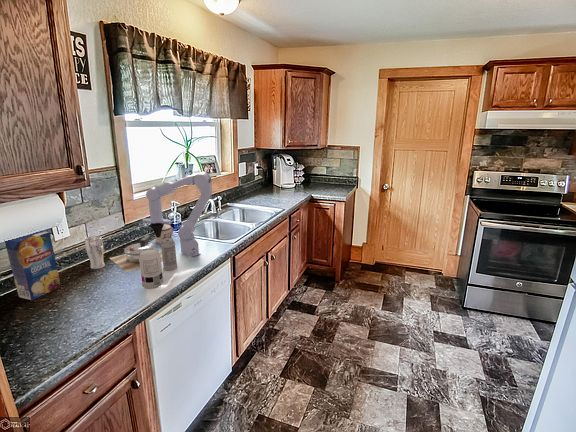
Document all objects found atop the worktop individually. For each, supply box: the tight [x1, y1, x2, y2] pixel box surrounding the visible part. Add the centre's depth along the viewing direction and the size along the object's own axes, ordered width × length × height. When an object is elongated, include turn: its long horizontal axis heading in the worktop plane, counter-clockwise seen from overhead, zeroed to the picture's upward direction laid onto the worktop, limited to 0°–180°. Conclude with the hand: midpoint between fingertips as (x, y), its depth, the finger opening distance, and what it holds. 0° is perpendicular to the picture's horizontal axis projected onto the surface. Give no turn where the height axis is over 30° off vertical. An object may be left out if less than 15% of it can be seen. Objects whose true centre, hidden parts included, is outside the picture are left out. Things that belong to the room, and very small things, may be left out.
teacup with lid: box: [154, 224, 174, 244], centre depth 188 cm, size 12×9×12 cm
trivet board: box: [109, 247, 163, 273], centre depth 164 cm, size 22×22×1 cm
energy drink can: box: [160, 237, 178, 272], centre depth 151 cm, size 6×6×15 cm
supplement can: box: [139, 248, 164, 290], centre depth 138 cm, size 8×8×15 cm
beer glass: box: [84, 235, 106, 270], centre depth 153 cm, size 7×7×15 cm
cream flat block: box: [124, 252, 139, 264], centre depth 164 cm, size 20×13×4 cm, turn 36°
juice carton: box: [4, 230, 62, 301], centre depth 131 cm, size 12×8×24 cm, turn 161°
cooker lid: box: [123, 234, 155, 255], centre depth 165 cm, size 19×14×3 cm
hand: (158, 236), depth 169 cm, fingers closed
